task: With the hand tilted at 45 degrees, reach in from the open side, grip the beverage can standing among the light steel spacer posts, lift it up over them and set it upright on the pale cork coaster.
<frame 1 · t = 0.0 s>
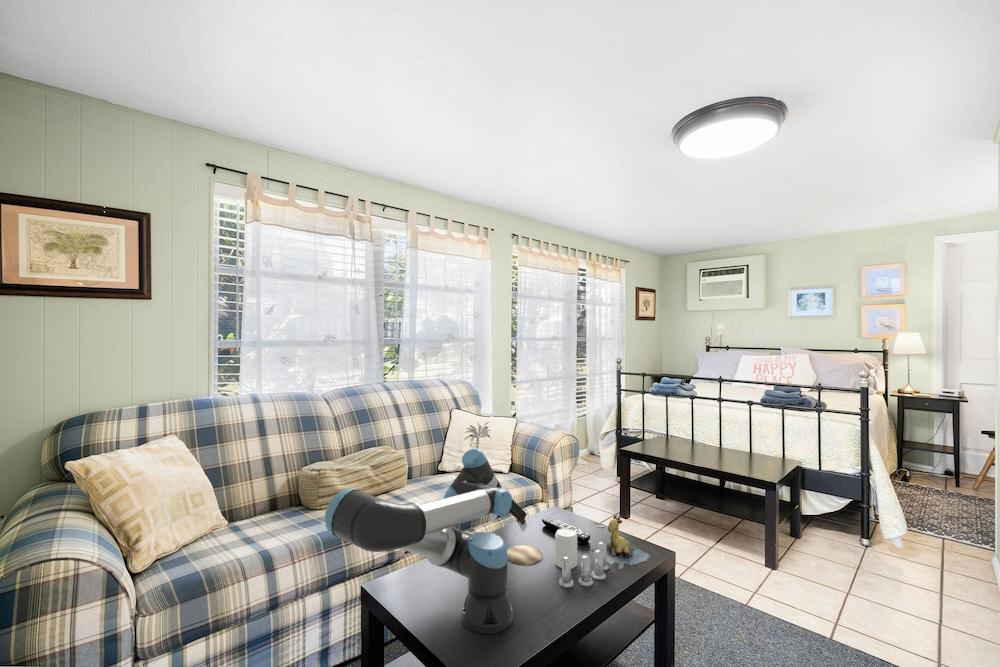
hand: (509, 523, 164), 15 cm above the table, tool tilted 35°, fingers open, 13 cm apart
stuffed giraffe: (621, 555, 173), on the table
cork coaster: (524, 555, 171), on the table
beverage can: (566, 565, 165), on the table
spacer posts: (587, 563, 157), on the table
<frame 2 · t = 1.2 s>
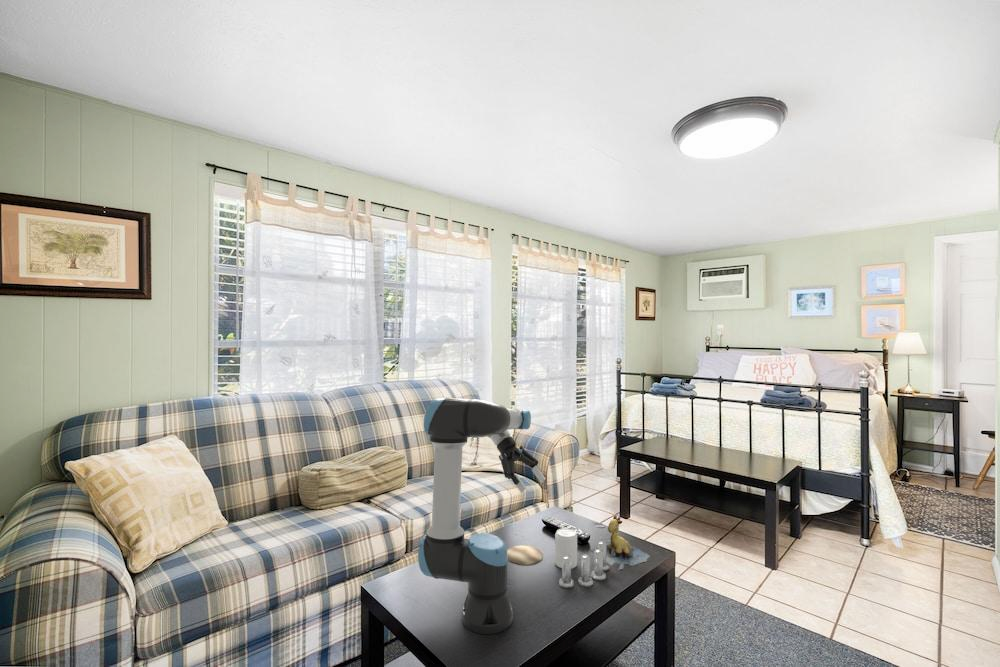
hand: (533, 485, 174), 26 cm above the table, tool tilted 45°, fingers open, 13 cm apart
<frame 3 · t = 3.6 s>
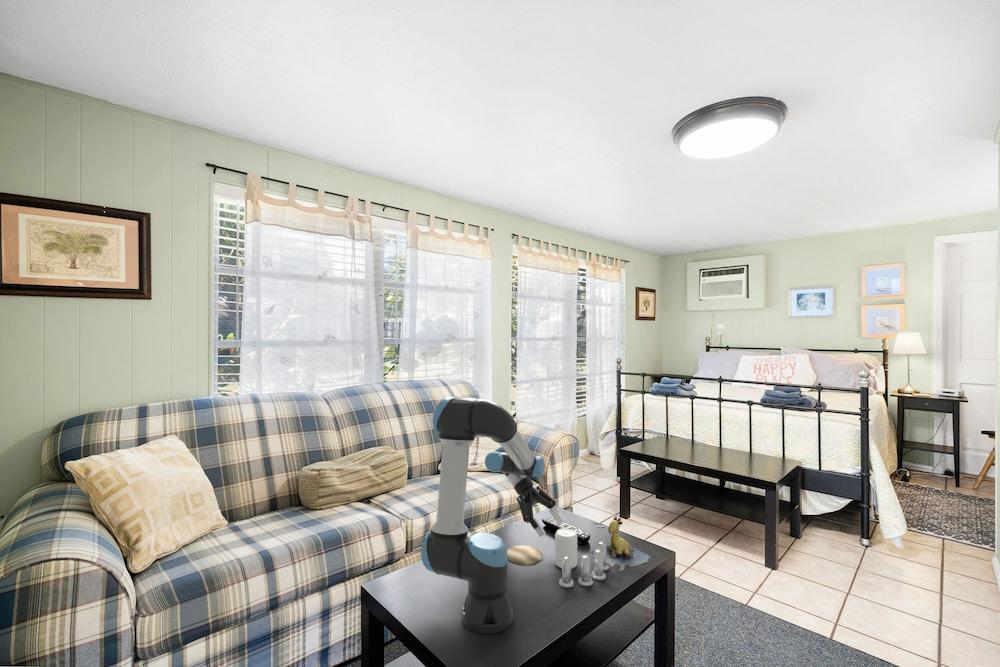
hand: (552, 529, 170), 11 cm above the table, tool tilted 45°, fingers open, 13 cm apart
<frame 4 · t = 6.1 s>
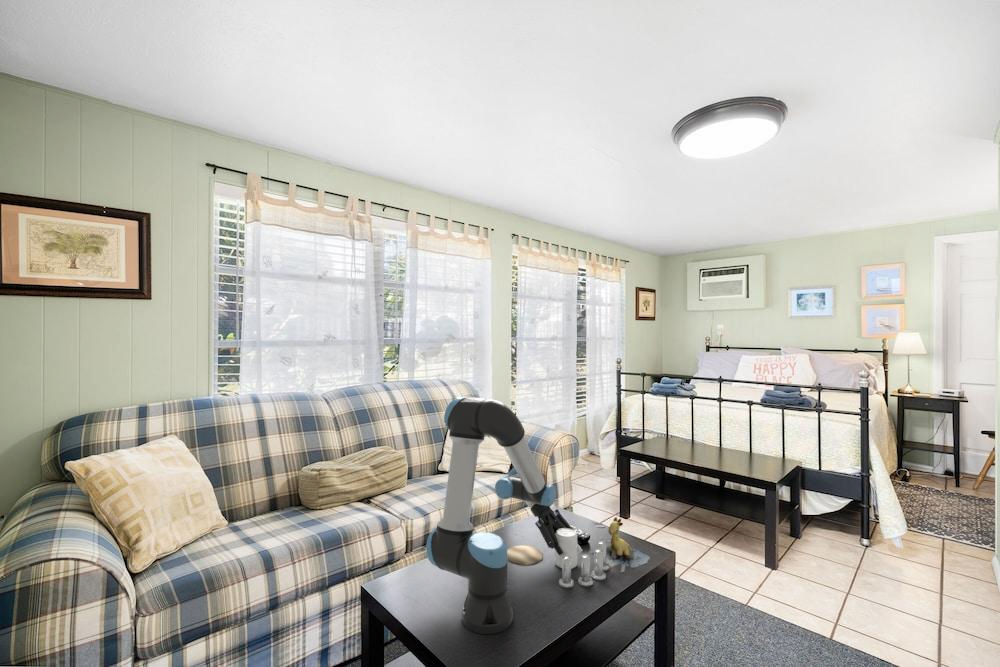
hand: (574, 557, 163), 4 cm above the table, tool tilted 45°, fingers closed on beverage can, 8 cm apart
beverage can: (566, 565, 165), on the table, touching gripper
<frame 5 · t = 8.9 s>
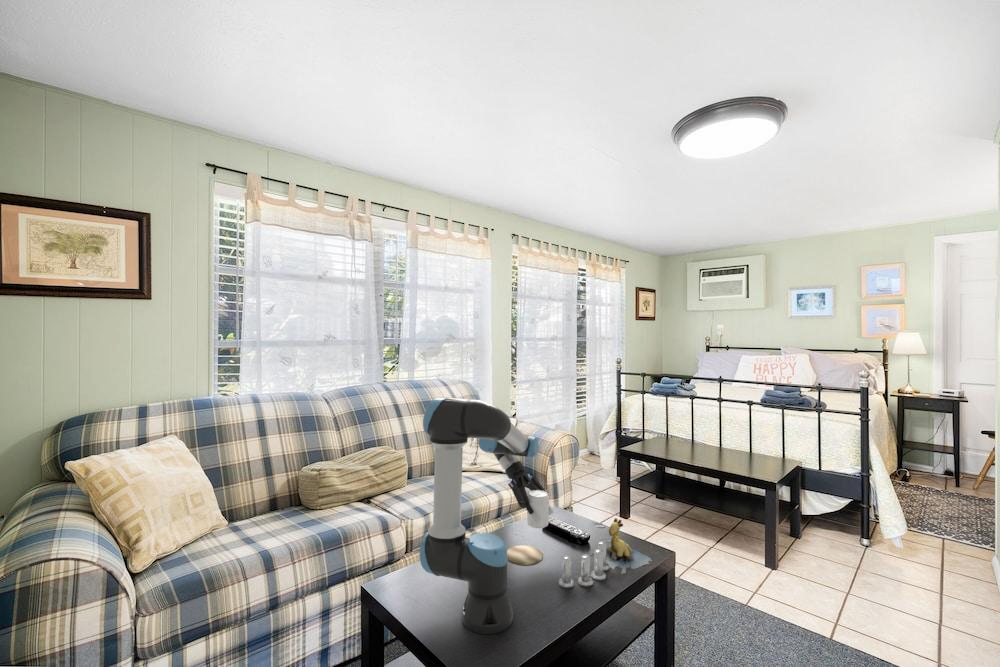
hand: (545, 517, 168), 16 cm above the table, tool tilted 45°, fingers closed on beverage can, 8 cm apart
beverage can: (537, 525, 170), point 12 cm above the table, touching gripper
when the fingers open (6 cm above the table, at t = 11.7 s): beverage can drops 1 cm, resting on cork coaster.
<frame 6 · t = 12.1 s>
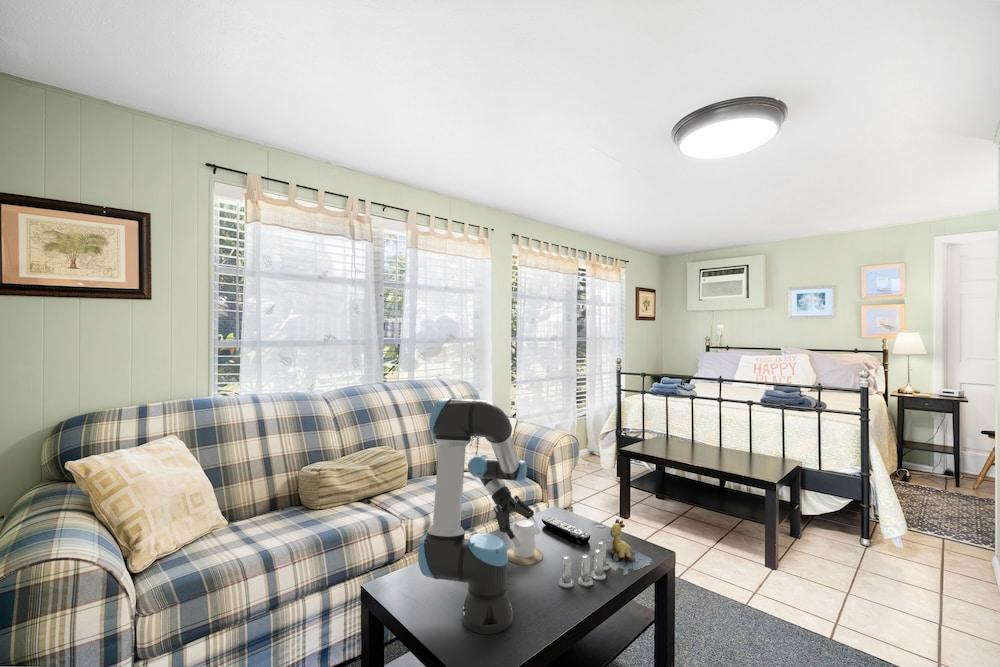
hand: (529, 539, 170), 7 cm above the table, tool tilted 45°, fingers open, 13 cm apart
beverage can: (524, 554, 172), resting on cork coaster
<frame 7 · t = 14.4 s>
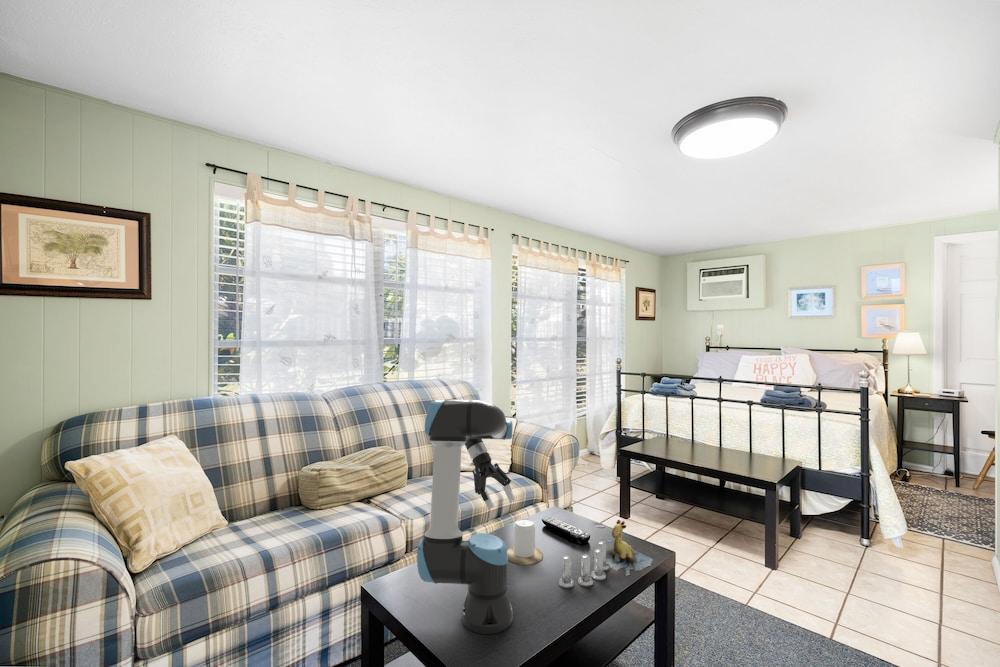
hand: (502, 504, 177), 18 cm above the table, tool tilted 40°, fingers open, 13 cm apart
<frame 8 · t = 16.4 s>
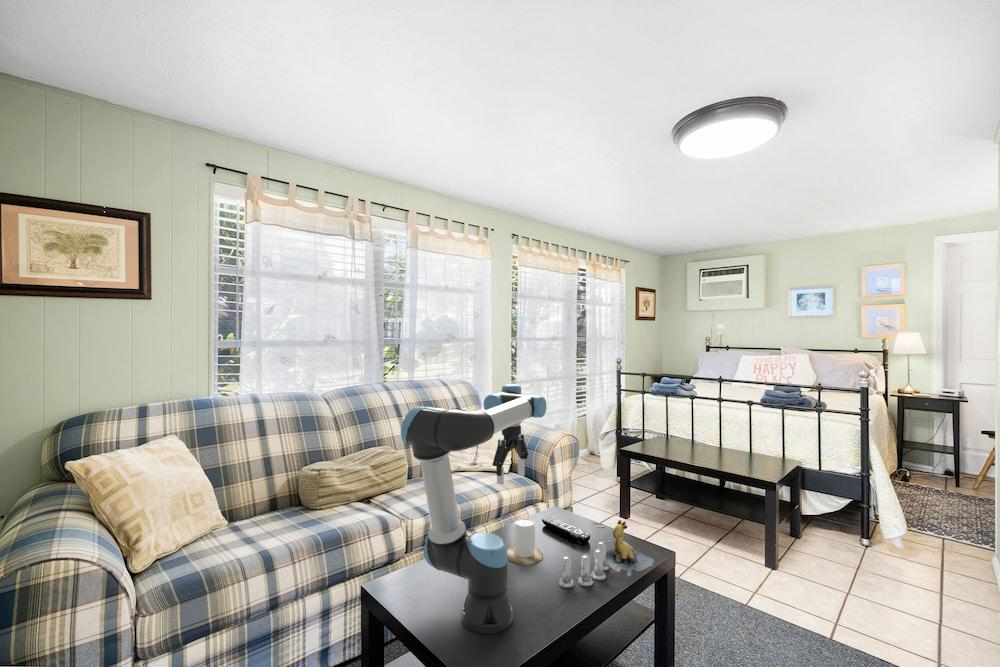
hand: (511, 479, 173), 29 cm above the table, tool pointing down, fingers open, 13 cm apart
at the end: beverage can 0.2 cm off-centre on the cork coaster, point 0.4 cm above the cork coaster's base; beverage can tilted 0°; the gripper is holding nothing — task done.
